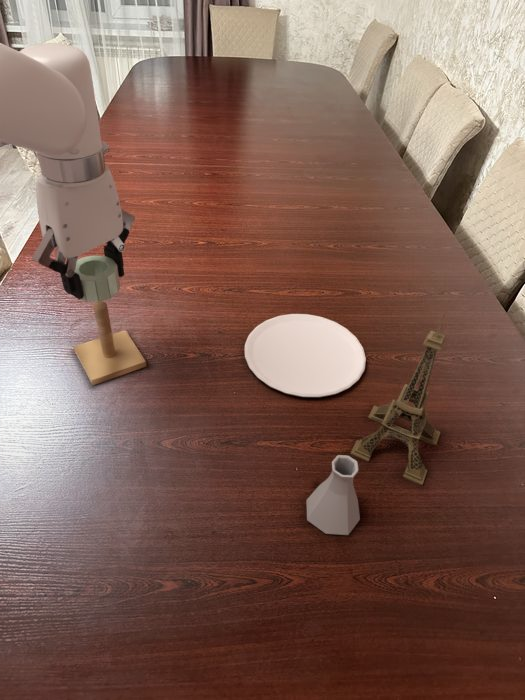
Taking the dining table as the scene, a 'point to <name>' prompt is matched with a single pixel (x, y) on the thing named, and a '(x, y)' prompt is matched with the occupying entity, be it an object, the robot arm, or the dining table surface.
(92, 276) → the pale green ring
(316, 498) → the flask
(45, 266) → the robot arm
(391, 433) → the eiffel tower
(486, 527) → the dining table surface
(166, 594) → the dining table surface
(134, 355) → the stand
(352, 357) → the plate
